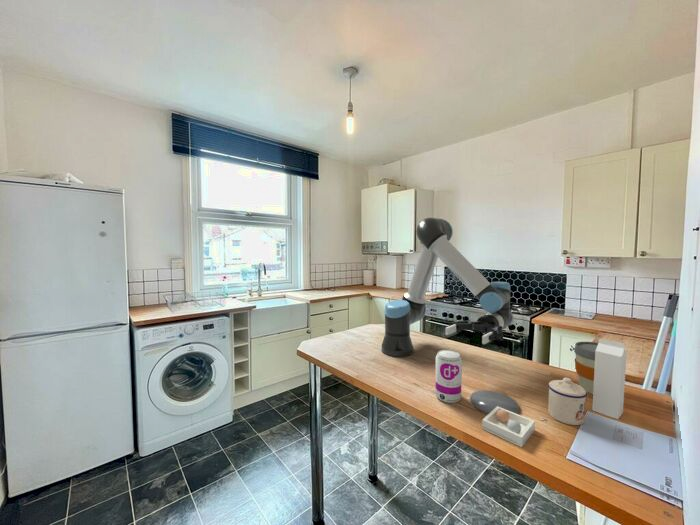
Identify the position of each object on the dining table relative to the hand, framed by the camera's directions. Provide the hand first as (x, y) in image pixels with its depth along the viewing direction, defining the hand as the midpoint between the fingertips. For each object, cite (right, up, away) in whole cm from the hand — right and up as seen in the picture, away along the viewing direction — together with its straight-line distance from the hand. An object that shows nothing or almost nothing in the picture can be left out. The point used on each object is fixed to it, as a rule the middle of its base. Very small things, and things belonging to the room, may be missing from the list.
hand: (463, 335), depth 103 cm
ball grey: (+4, -18, -24) cm, 31 cm away
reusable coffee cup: (+45, -19, -1) cm, 49 cm away
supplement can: (-7, -20, -5) cm, 21 cm away
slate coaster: (+6, -20, -9) cm, 22 cm away
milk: (+38, -20, -14) cm, 45 cm away
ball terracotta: (+4, -18, -19) cm, 27 cm away
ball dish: (+4, -21, -22) cm, 30 cm away
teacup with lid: (+25, -20, -15) cm, 35 cm away
